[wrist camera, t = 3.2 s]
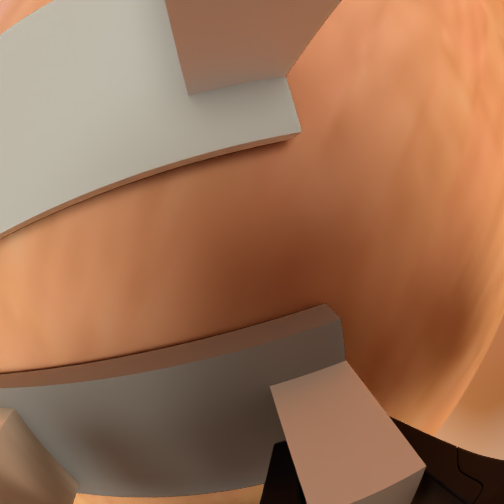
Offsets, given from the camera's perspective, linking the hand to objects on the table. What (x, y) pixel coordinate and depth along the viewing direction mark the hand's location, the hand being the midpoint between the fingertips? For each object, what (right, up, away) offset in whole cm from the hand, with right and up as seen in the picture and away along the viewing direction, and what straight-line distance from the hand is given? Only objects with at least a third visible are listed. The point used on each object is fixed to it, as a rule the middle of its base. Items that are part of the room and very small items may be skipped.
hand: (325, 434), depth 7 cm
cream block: (-13, -4, 0) cm, 14 cm away
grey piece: (-9, -2, +2) cm, 9 cm away
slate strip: (-12, +9, -1) cm, 15 cm away
